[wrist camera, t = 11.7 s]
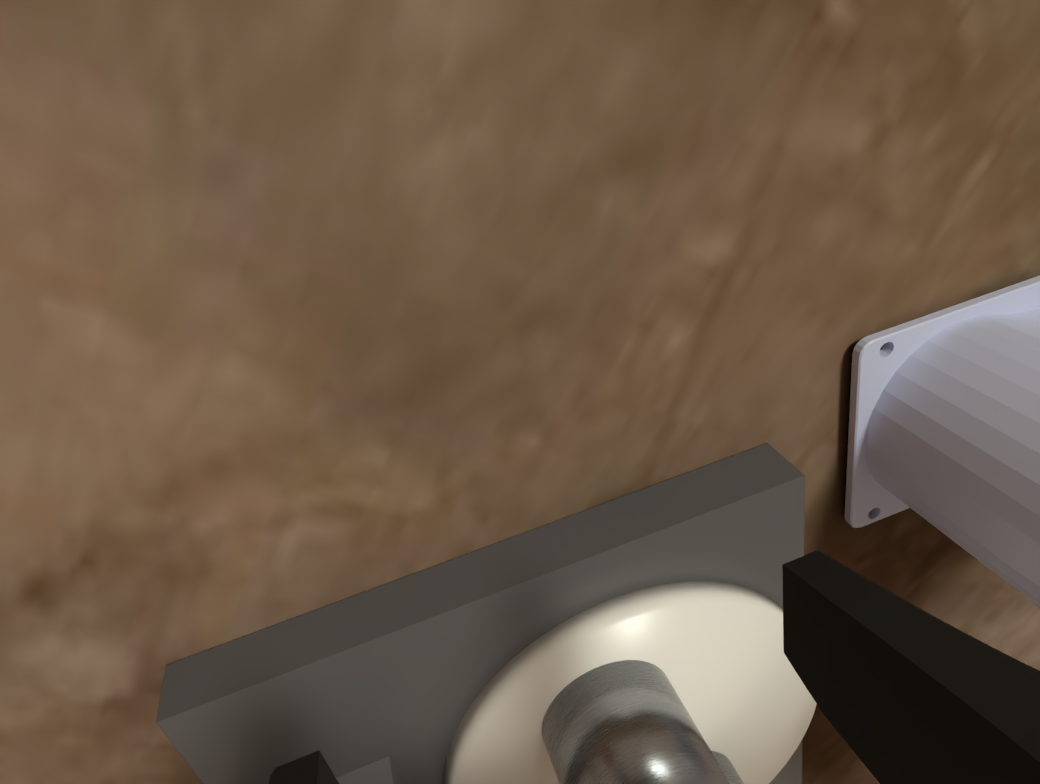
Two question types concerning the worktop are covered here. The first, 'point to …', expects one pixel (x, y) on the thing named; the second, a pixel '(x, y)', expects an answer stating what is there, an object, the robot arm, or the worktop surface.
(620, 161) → the worktop surface
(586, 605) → the kitchen scale
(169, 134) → the worktop surface
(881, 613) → the robot arm
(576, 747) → the cylinder
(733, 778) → the cylinder
